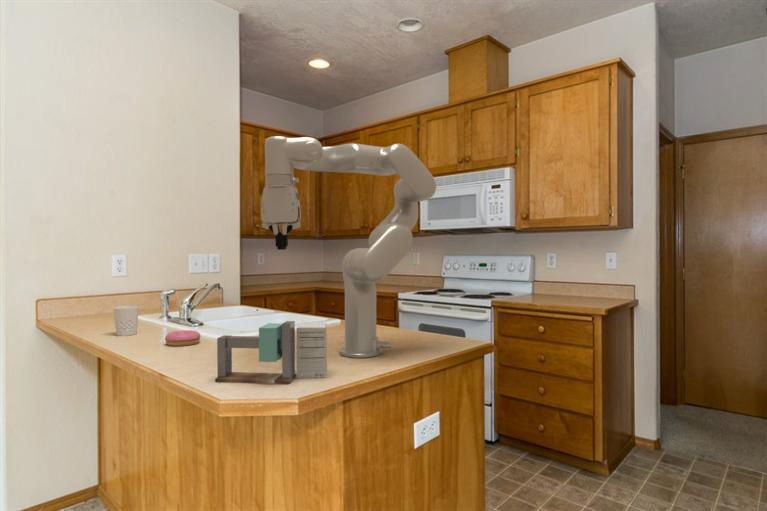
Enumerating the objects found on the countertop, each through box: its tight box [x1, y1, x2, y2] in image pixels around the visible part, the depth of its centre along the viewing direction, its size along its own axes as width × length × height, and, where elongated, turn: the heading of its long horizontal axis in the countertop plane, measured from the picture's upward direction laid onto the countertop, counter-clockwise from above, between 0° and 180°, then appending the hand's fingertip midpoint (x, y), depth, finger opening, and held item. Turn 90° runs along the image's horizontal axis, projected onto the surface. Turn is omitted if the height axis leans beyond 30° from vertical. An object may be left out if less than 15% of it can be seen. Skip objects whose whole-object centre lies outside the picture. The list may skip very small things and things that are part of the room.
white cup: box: [113, 305, 139, 337], centre depth 173 cm, size 8×8×10 cm
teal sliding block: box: [258, 322, 282, 363], centre depth 113 cm, size 4×7×8 cm, turn 174°
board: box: [214, 371, 297, 385], centre depth 114 cm, size 18×6×1 cm, turn 84°
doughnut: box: [164, 329, 201, 347], centre depth 156 cm, size 11×11×4 cm
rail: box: [216, 320, 296, 383], centre depth 114 cm, size 18×4×14 cm, turn 84°
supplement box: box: [296, 321, 328, 379], centre depth 119 cm, size 7×7×13 cm
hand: (281, 249), depth 130 cm, fingers closed
